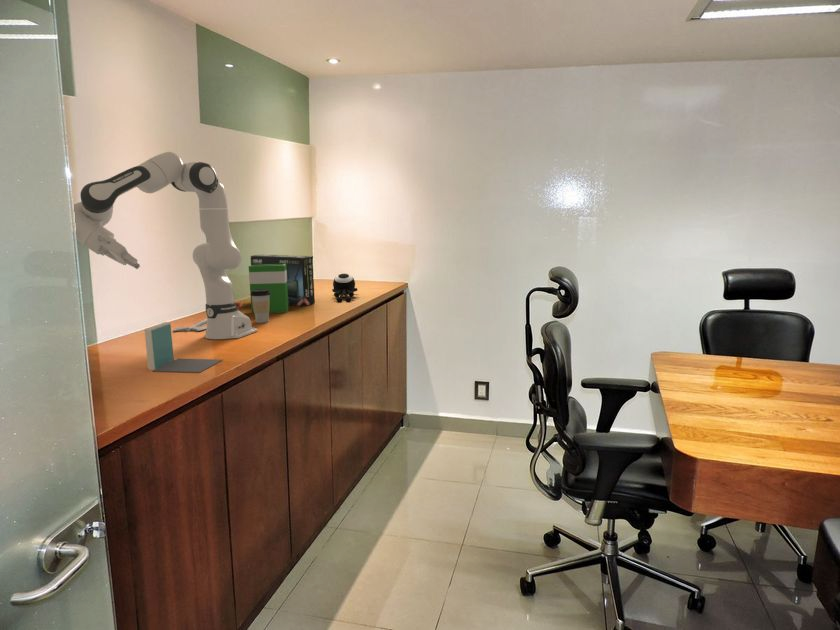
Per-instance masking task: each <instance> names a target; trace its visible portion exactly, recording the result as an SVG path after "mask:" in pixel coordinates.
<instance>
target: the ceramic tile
mask: <svg viewBox="0 0 840 630" xmlns="http://www.w3.org/2000/svg"><path fill="white" fill-rule="evenodd" d="M171 325H172V324H171V321H170V322H169V321H168V322H167V321H166V322H162V323H159V324H156V325H153V326H150V327H147V328H145V329H144V337H145V338H144V339H145V348H146V357H147V358H146V359H147V367H148V370H149V371H153V370H155V369H157V368H159V367H161V366H163V365H166V364H168V363H170V362H172V361H174V360H175V359H174V346H173V345H174V344H173V335H172V327H171Z"/></svg>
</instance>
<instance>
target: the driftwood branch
mask: <svg viewBox="0 0 840 630" xmlns="http://www.w3.org/2000/svg"><path fill="white" fill-rule="evenodd" d="M204 324H207V317H206V318H204V319H201V320H200V321H198V322H196V323H194V324H193V325H191V326H185V325H184V326H178V327H176V328H174V329H173V331H174V332H180V331H181V332H182V331H183V332H184V331H186V332H191V331H193V332H194V331H196V332H197V331H198V332H199V331H204V330H206V327H207V325H206V326H205V325H204ZM203 325H204V326H203Z"/></svg>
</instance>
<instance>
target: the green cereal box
mask: <svg viewBox="0 0 840 630" xmlns="http://www.w3.org/2000/svg"><path fill="white" fill-rule="evenodd" d="M248 277H249V291H250V293H252V290H257V289H268V290H269V292H271V294H270V298H269V300H270V307H269V314H272V313H274V314H275V313H288V311H289V310H290V309H289V306H290V305H288V288H287V270H286V264H264V265H251V264H250V265H248ZM250 293H249V294H250ZM250 309H251V310H250V311H251V314H255V313H254V309H253V304H252V296H251V295H250Z"/></svg>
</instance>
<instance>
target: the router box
mask: <svg viewBox="0 0 840 630" xmlns="http://www.w3.org/2000/svg"><path fill="white" fill-rule="evenodd" d="M313 258H314V255H293V254H292V255H290V254H287V255H286V254H266V253H265V254H254V255H250V266H251V265H264V264H286V270H287V288H288V305H289V306H295V307H296V306H297V307H307V306H310V305H312V304H315V303H316V299H315V281H314V265H313V264H314V261H313Z"/></svg>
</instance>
